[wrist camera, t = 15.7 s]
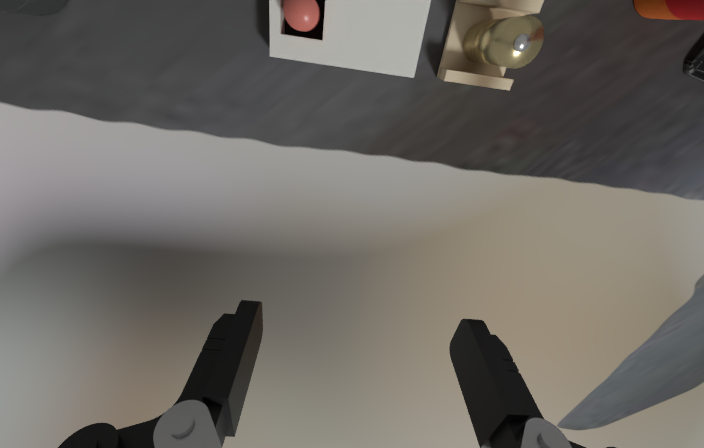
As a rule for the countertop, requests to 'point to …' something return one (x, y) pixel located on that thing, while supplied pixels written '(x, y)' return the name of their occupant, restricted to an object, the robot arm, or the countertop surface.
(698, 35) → the countertop surface
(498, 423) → the robot arm
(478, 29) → the cell
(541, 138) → the countertop surface
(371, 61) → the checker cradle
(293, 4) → the button
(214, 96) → the countertop surface
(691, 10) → the paper cup
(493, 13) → the beige channel block
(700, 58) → the phone
